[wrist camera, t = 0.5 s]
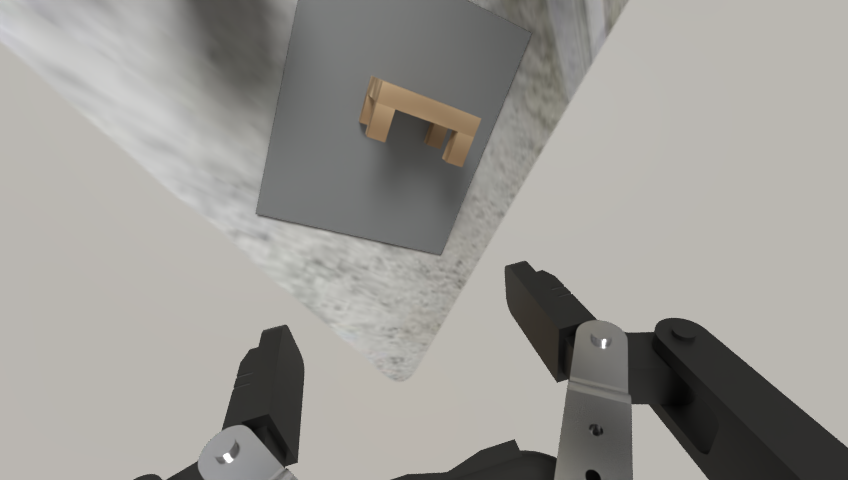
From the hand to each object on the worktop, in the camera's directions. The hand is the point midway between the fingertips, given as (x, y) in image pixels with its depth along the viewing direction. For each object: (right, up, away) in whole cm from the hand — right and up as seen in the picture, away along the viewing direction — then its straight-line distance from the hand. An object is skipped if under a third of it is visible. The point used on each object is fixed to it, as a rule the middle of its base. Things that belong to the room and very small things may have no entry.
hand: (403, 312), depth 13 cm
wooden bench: (-1, +15, +22) cm, 26 cm away
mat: (-2, +14, +22) cm, 26 cm away
